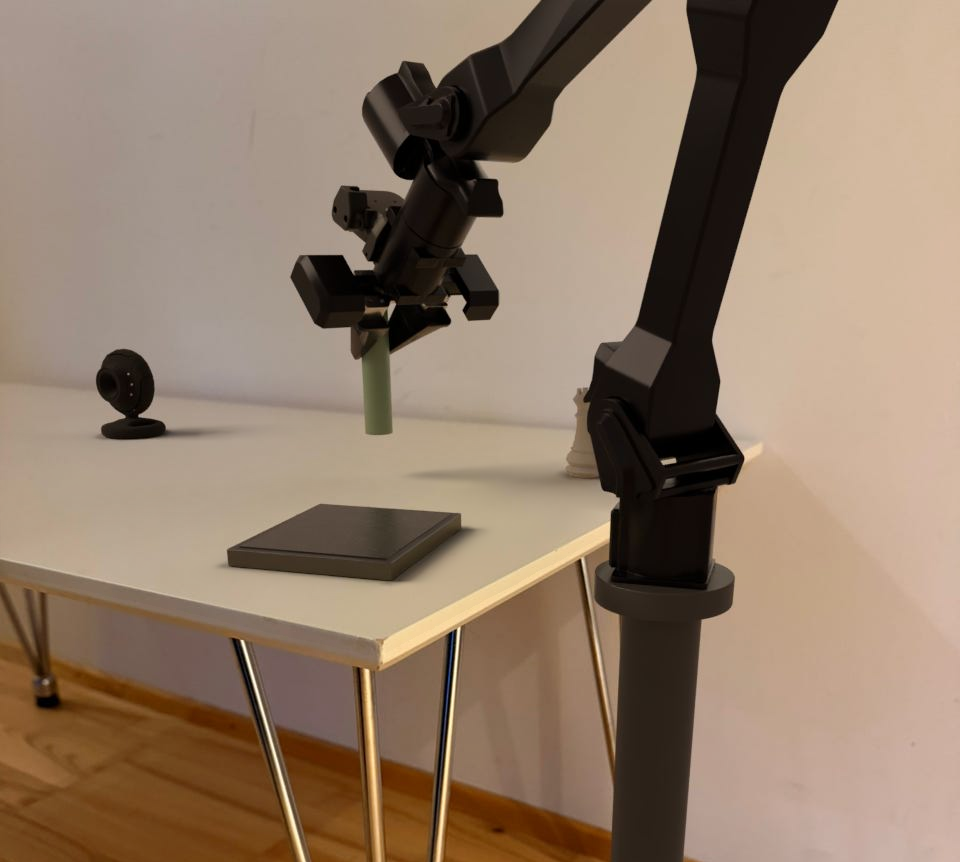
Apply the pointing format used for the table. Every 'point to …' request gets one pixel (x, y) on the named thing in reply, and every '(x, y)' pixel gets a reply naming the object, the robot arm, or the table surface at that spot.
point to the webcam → (128, 395)
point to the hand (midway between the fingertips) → (367, 354)
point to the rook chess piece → (581, 443)
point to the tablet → (347, 541)
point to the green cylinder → (377, 387)
